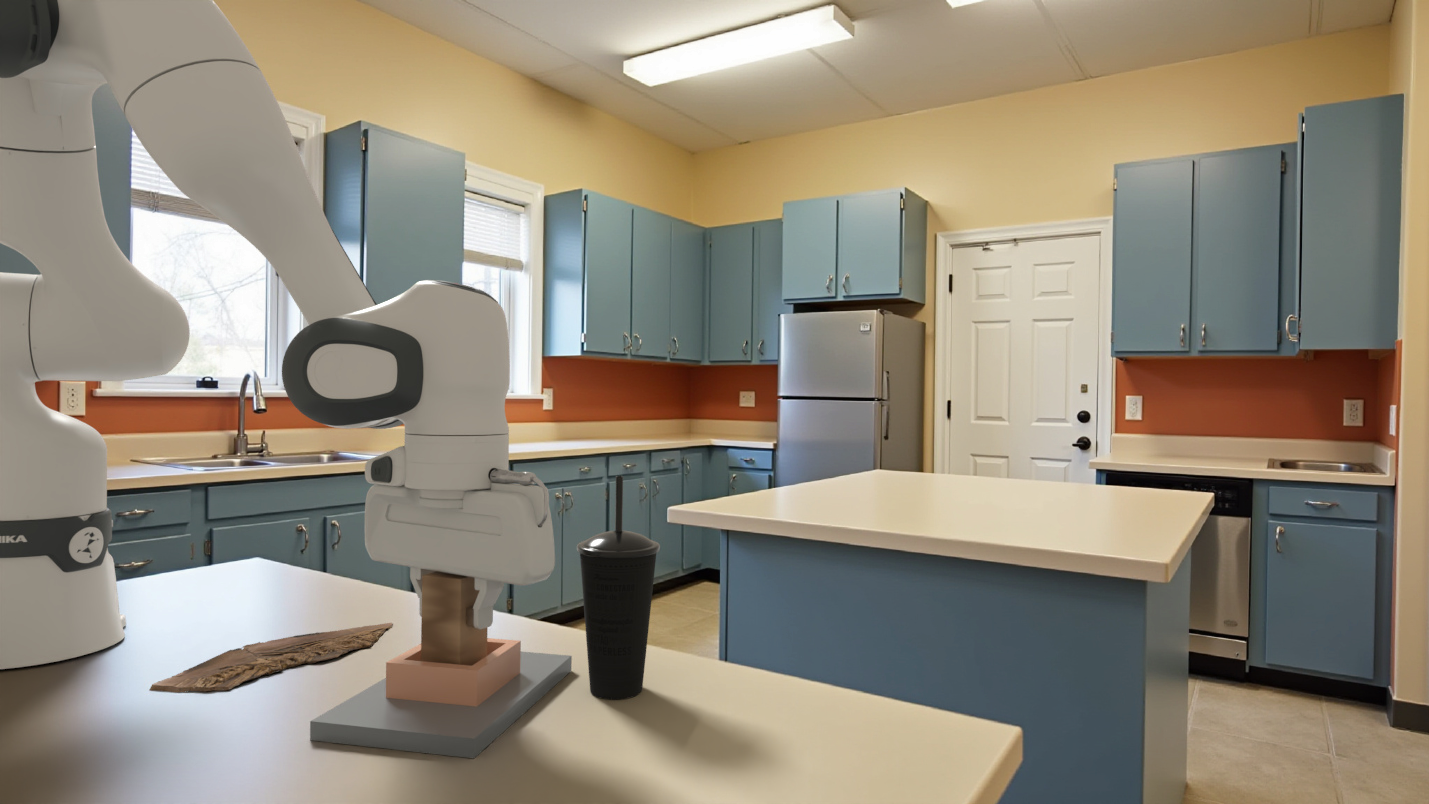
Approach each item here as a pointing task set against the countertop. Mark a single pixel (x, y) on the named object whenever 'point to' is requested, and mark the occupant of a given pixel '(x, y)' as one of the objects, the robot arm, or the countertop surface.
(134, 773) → the countertop surface
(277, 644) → the wooden fragment
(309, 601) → the countertop surface
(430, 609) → the brown wooden block
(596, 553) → the drinking cup
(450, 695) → the stand
